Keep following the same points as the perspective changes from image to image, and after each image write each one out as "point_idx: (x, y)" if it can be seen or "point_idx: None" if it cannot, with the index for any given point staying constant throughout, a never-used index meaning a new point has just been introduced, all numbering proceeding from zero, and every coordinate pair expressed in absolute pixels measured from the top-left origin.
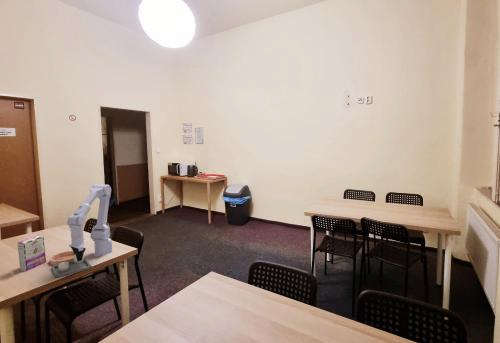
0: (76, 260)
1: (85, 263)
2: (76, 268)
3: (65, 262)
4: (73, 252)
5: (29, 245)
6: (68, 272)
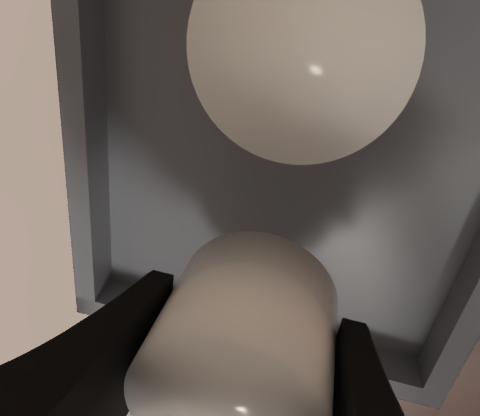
0: (187, 275)
1: None
2: (227, 189)
3: (328, 111)
4: None
5: None
6: (58, 27)
